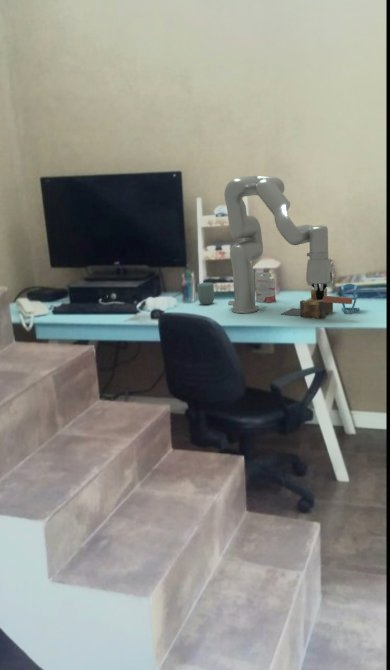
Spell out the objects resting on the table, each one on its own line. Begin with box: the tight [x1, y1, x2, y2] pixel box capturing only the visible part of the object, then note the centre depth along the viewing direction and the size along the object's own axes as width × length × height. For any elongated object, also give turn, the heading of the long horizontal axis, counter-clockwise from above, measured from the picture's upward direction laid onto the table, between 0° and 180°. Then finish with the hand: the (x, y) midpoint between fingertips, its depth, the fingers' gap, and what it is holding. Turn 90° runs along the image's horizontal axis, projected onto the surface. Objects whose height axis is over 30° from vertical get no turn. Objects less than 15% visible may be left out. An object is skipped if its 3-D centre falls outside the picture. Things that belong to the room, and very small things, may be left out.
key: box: [323, 295, 353, 305], centre depth 266 cm, size 12×2×2 cm, turn 56°
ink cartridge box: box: [254, 271, 277, 304], centre depth 310 cm, size 9×5×15 cm, turn 55°
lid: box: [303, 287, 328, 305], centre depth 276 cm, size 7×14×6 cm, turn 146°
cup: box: [196, 282, 215, 306], centre depth 315 cm, size 8×8×10 cm
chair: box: [340, 283, 361, 315], centre depth 278 cm, size 8×8×12 cm
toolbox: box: [299, 299, 334, 320], centre depth 277 cm, size 10×14×7 cm
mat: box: [280, 307, 300, 317], centre depth 285 cm, size 10×12×1 cm
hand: (320, 299), depth 270 cm, fingers closed
